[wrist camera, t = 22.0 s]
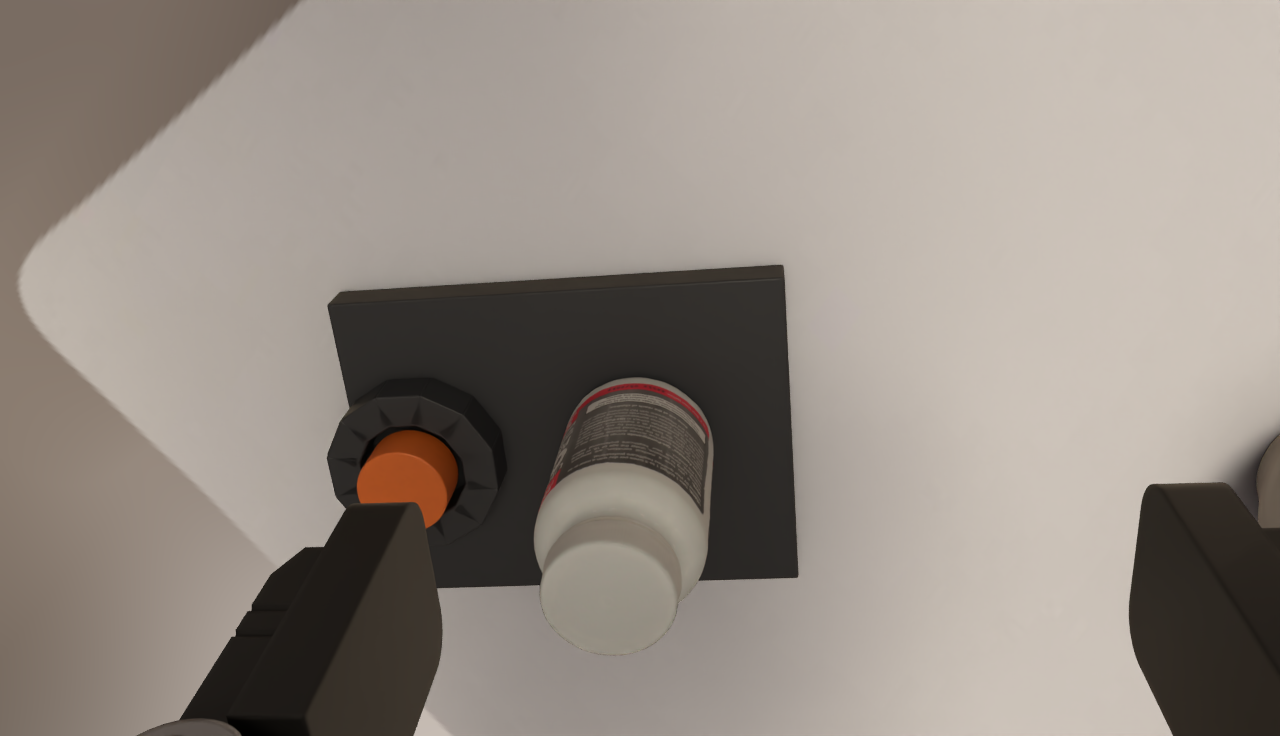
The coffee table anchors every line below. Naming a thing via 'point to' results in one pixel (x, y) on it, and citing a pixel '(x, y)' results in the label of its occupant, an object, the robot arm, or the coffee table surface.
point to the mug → (1269, 487)
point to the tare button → (410, 473)
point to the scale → (571, 400)
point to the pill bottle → (625, 516)
